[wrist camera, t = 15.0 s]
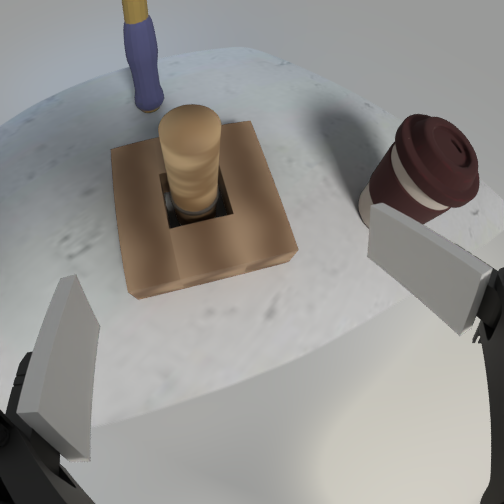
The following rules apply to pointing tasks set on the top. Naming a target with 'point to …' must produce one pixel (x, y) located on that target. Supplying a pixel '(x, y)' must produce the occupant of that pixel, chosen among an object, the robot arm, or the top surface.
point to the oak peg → (192, 161)
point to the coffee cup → (423, 171)
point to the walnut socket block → (200, 233)
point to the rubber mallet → (142, 55)
